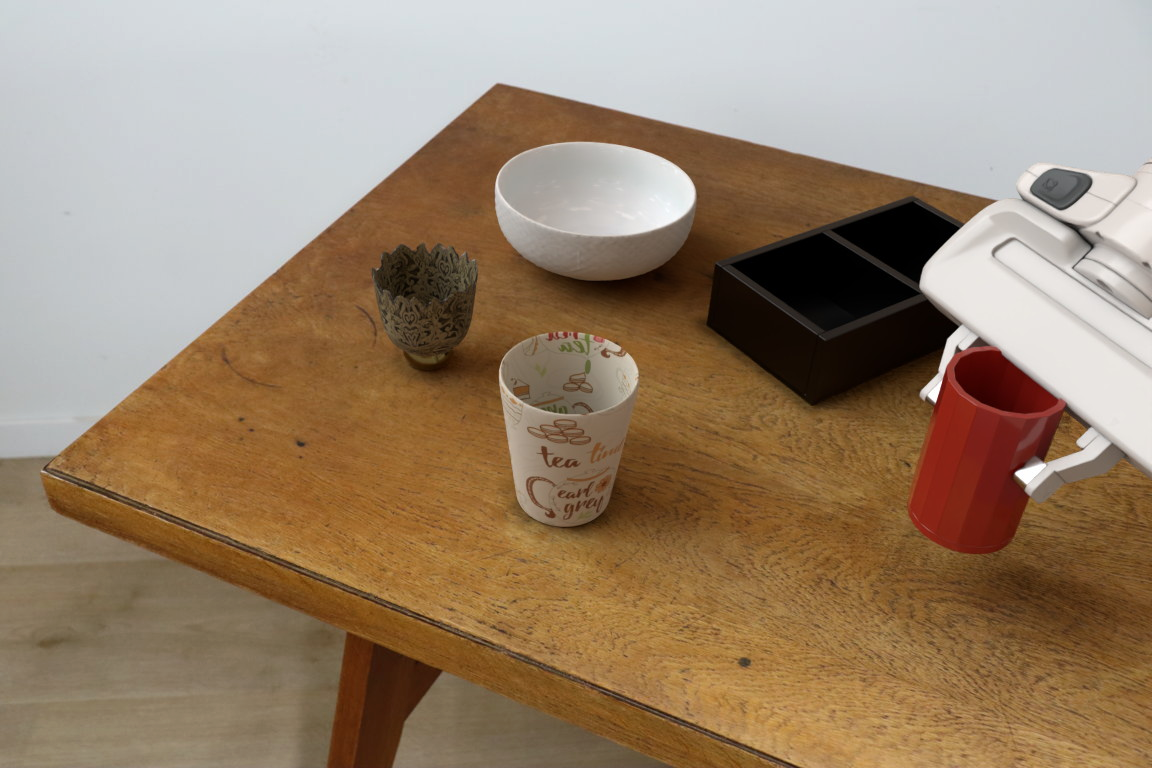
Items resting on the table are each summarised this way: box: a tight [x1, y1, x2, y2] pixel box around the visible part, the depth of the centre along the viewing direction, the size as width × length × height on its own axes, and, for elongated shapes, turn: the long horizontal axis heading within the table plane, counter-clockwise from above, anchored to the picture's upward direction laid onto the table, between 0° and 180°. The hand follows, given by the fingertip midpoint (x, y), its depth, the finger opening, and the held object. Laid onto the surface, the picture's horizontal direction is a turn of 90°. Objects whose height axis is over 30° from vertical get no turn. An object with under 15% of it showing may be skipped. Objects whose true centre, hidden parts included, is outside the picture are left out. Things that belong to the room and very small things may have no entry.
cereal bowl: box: [494, 141, 698, 282], centre depth 93 cm, size 17×17×7 cm
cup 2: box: [906, 346, 1066, 555], centre depth 62 cm, size 6×6×10 cm
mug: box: [498, 331, 640, 528], centre depth 70 cm, size 8×13×10 cm, turn 166°
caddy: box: [706, 195, 966, 406], centre depth 87 cm, size 22×12×6 cm, turn 124°
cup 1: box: [370, 242, 479, 371], centre depth 80 cm, size 8×7×8 cm
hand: (975, 447), depth 61 cm, fingers closed on cup 2, 6 cm apart
